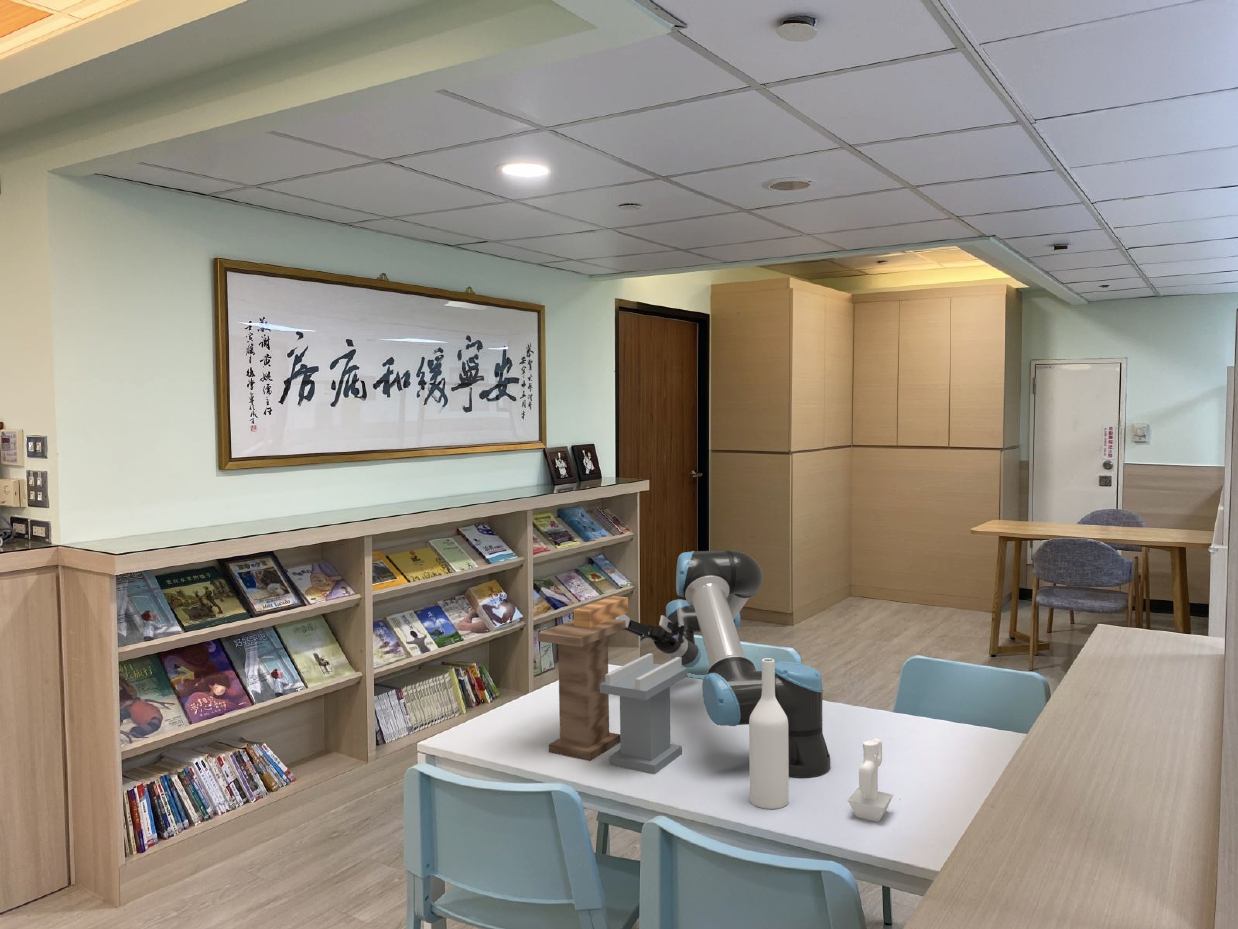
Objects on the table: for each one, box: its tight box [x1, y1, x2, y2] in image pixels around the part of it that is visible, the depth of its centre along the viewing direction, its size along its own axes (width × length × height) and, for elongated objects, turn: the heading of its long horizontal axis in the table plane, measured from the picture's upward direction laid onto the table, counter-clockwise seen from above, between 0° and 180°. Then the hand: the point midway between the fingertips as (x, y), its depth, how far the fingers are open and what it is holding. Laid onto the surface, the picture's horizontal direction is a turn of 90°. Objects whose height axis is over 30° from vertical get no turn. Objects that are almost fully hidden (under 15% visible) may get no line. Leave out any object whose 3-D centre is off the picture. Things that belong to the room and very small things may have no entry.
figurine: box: [847, 737, 894, 823], centre depth 182 cm, size 7×9×15 cm
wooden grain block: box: [573, 595, 629, 628], centre depth 229 cm, size 19×5×4 cm, turn 150°
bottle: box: [748, 657, 790, 810], centre depth 189 cm, size 8×8×30 cm
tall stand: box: [537, 618, 626, 762], centre depth 222 cm, size 21×12×30 cm, turn 150°
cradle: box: [600, 653, 688, 775], centre depth 214 cm, size 21×12×22 cm, turn 150°
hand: (639, 617), depth 246 cm, fingers open, 13 cm apart
